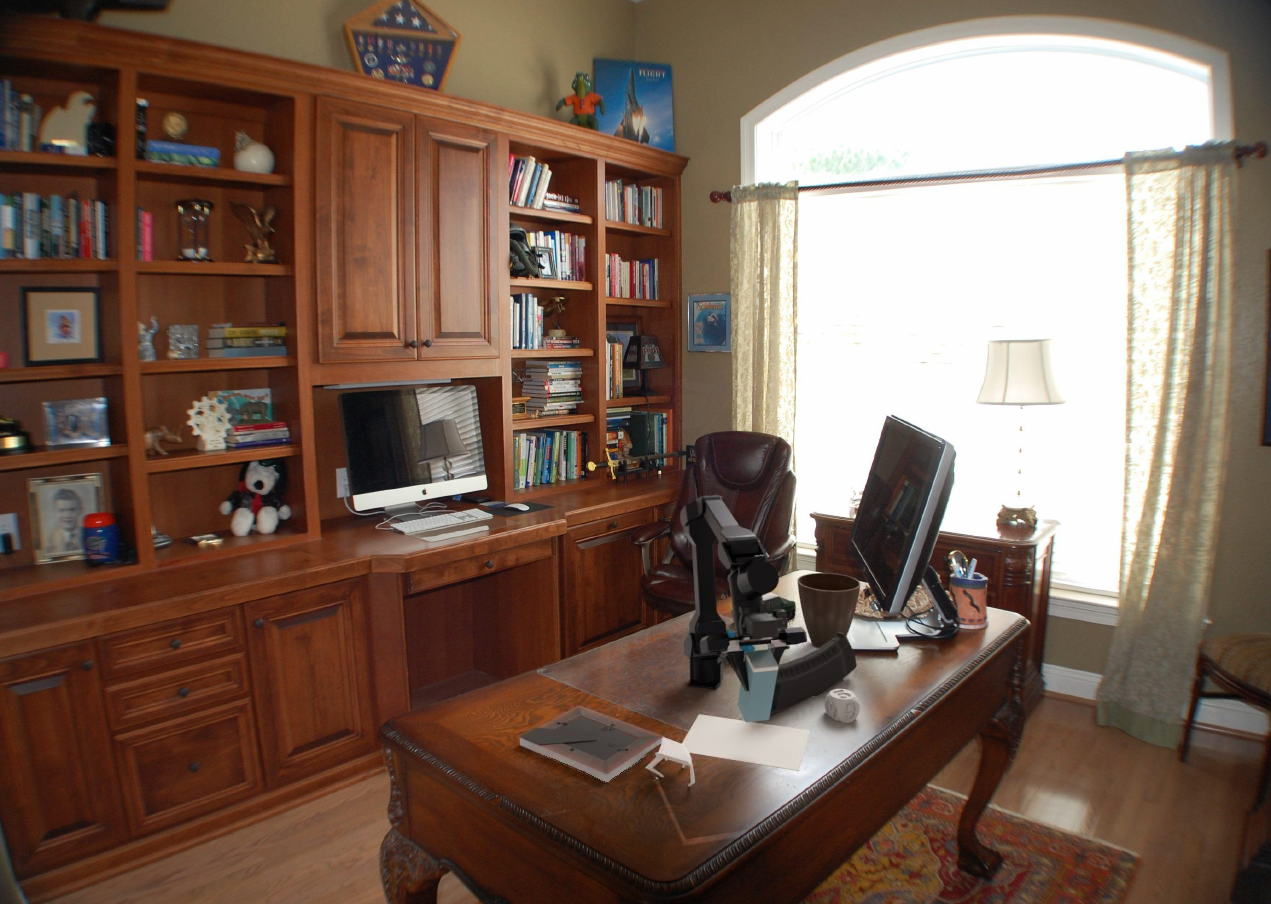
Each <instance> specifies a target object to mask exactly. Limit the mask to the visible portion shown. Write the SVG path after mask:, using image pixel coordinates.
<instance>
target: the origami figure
mask: <svg viewBox="0 0 1271 904" xmlns="http://www.w3.org/2000/svg"><path fill="white" fill-rule="evenodd" d="M654 754H655V756H656V757H655V758H653V759H652V760H651V761H650V762H649V763H648V764H647V766H645V767H644V769H647V770H648V771H650V772H652V773H654V774H656V775H657V776H655V778H656V779H658V780H659V778H660V777H661V778H664V777H665V776H664V775H663V774H662V773H661V772H659V771H658V770H656V769H655V768H654V767H655V766H657V764H658V763H660V762H661V761H662V760H664V761H671V762H675V763H678V764H682V766H681V767H682V768H683V769H685V766H688V767H689V771H690V772H689V773H690V774H689V775H690V782H689V783H688V785H687V786H688V787H691V786H692V785H693V784H695V783H696V777H695V771H694V766H693V762H692V761H693V760H692V756H691V753H689V752H688V750H687V749H686V748H685V745H684V744H682V743H680V742H677V741H674V740H672V739H669V738H668V737H667V738H666V736H664V737H663V738H662V743H661V744H660V747H659V750H658V752H654ZM658 776H659V778H658Z"/></svg>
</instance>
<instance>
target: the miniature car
mask: <svg viewBox="0 0 1271 904" xmlns="http://www.w3.org/2000/svg"><path fill="white" fill-rule="evenodd" d="M762 597H763V604H766V607H767V611H768V614H773V611H774V610H782V609H783V610H785V611H786V615H787V620H788V621H792V620H794V619H795V618H796V612H797V605H796V601H794V600H789V599H786V598H784V597H781V596H780V595H779V594H777V593H774V592H773V591H772V592H770V593H768V594H765V595H763V596H762ZM730 618H731V620H732V621H733V622H734V616H732V615H731V617H730Z"/></svg>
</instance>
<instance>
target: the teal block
mask: <svg viewBox="0 0 1271 904" xmlns="http://www.w3.org/2000/svg"><path fill="white" fill-rule="evenodd" d="M744 663H745V668H746V673H747V678H748V683H749V691H745V690H744V688H743V686H742V684H741V683H740V687H739V693H738V699H737V706H738V709H739V711H740V714H741V715H742V718H743V719H744V720H743V721H745V722H755V723H756V722H763V721H769V720H770V717H771V714H770V712H771V706H772V700H773V695H774V689H775V683H776V678H777V672H778V667H779V666H778V664H777V662H776V661H775V659H774V657H773V655H772V653H771V651H770V649H768V648H767V650H766V649H760V650H754V651H747V652H744Z"/></svg>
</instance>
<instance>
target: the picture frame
mask: <svg viewBox="0 0 1271 904" xmlns="http://www.w3.org/2000/svg"><path fill="white" fill-rule="evenodd" d="M663 737H665V736H664V735H662V734H659V733H656V732H654V731H651V730H648V729H645V728H643V727H641V726H637V725H635V724H631V723H629V722H626V721H624V720H621V719H618V718H615V717H612V716H610V715H607V714H604V713H601V712H598V711H596V710H592V709H590V708H587V707H585V706H583V705H576V706H575V707H572V708H571V709H569V710H567V711H565V712H563V713H561V714H559V715H558V716H556V717H554V718H552V719H550V720H549V721H547V722H545V723H543V724H541V725H540V726H536V727H534V728H532V729H530V730H529V731H527V732H525V733H523V734H521V735H520V736H519V746H521V747H524V748H526V749H528V750H531V751H533V752H535V753H537V754H539V753H540V755H542V756H544V755H545V756H544V757H546V756H547V758H549V757H550V758H549V759H551V758H553V759H556V760H558V761H560V762H562V763H565V764H568V765H570V766H573V767H575V768H577V769H579V770H582V771H585V772H586V773H588V774H590V775H592V776H594V777H593V778H595V777H596V778H595V779H597V778H598V780H599V779H600V781H602V782H604V781H605V782H604V783H606V782H608V783H610V782H611V781H612V780H613V779H612V778H614V777H615V776H617V775H618V776H619V774H620V773H621V772H623V771H624V770H626V769H627V770H628V768H629V767H630V768H632V767H633V766H634V765H636V764H637V763H639V762H640V761H641V760H640V759H641V758H643V759H645V758H646V757H647V756H646V755H648V753H649V752H651V751H653V750H654V749H656V747H658V746H659V745H661V743H662V738H663ZM645 756H646V757H645ZM644 757H645V758H644ZM553 759H552V760H553ZM556 760H555V761H556ZM639 760H640V761H639ZM558 761H557V762H558ZM638 761H639V762H638ZM560 762H559V763H560ZM636 762H637V763H636ZM562 763H561V764H562ZM635 763H636V764H635ZM565 764H564V765H565ZM633 764H634V765H633ZM632 765H633V766H632ZM630 768H629V769H630ZM579 770H578V771H579ZM627 770H626V771H627ZM624 772H625V771H624ZM624 772H623V773H624ZM586 773H585V774H586ZM588 774H587V775H588ZM621 774H622V773H621ZM621 774H620V775H621ZM590 775H589V776H590ZM592 776H591V777H592ZM618 776H617V777H618ZM615 778H616V777H615ZM615 778H614V779H615ZM611 779H612V780H611ZM610 780H611V781H610Z"/></svg>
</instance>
